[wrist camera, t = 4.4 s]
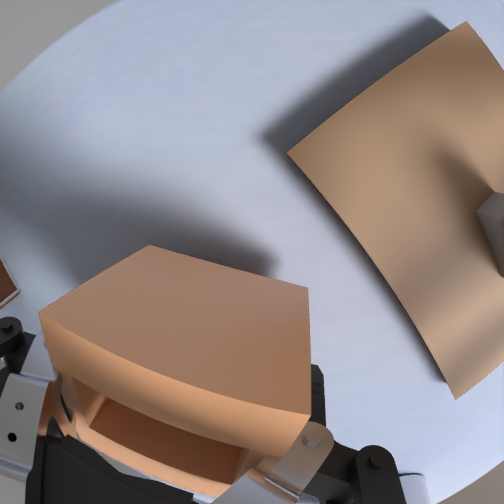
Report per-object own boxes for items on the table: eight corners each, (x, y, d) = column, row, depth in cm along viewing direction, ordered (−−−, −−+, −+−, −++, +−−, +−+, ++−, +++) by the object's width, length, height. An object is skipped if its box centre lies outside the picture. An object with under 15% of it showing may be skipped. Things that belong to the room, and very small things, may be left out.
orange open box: (307, 287, 10) (310, 415, 4) (268, 395, 12) (246, 504, 6) (149, 244, 11) (38, 312, 5) (145, 356, 13) (81, 439, 7)
